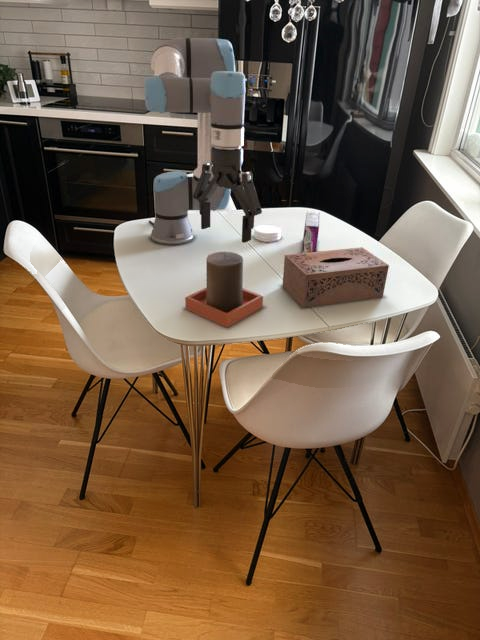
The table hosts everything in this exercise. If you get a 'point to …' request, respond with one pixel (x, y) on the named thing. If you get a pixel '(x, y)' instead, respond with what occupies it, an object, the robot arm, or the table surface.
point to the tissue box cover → (334, 276)
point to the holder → (200, 307)
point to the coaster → (267, 233)
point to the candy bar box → (310, 232)
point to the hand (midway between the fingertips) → (225, 234)
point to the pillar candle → (224, 280)
